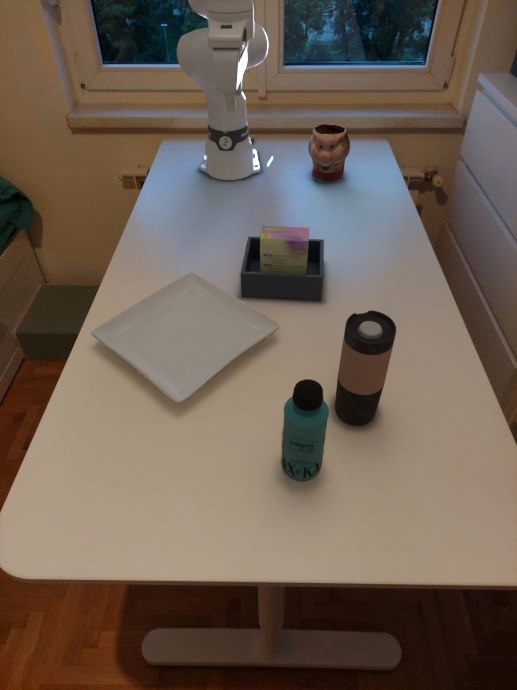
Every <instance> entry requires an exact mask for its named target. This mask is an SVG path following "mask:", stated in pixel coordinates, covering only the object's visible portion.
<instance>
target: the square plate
mask: <svg viewBox="0 0 517 690" xmlns="http://www.w3.org/2000/svg"><path fill="white" fill-rule="evenodd" d="M280 326H281V324H280V323H279V322H278V321H276V320H275V319H273V318H272V317H269V316H268V315H266V314H265V313H263V312H261V311H260V310H258V309H256V308H254V307H253V306H251V305H250V304H248V303H246V302H244V301H242V300H241V299H239V298H237V297H236V296H234V295H233V294H231V293H229V292H228V291H225V290H224V289H223V288H221V287H219V286H218V285H216V284H214V283H212V282H211V281H209V280H208V279H205V278H204V277H202V276H201V275H199V274H197V273H195V272H188V273H185V274H184V275H183V276H181V277H179V278H177V279H176V280H174V281H172V282H170V283H168V284H167V285H165V286H163V287H162V288H160V289H158V290H157V291H155V292H154V293H152V294H150V295H148V296H147V297H145V298H143V299H141V300H140V301H138V302H136V303H134V304H133V305H131V306H130V307H128V308H127V309H125V310H123V311H121V312H120V313H118V314H116V315H115V316H113V317H111V318H110V319H109V320H106V321H105V322H103V323H102V324H100V325H98V326H97V327H96V328H94V329H92V330H91V332H90V334H91V336H92V337H93V338H95V340H97V341H98V342H99V343H100V344H102V345H104V346H105V347H106V348H108V349H109V350H110V351H111V352H113V353H114V354H116V355H117V356H118V357H120V358H121V359H123V361H125V362H126V363H127V364H129V365H130V366H131V367H132V368H133V369H134V370H135V371H137V372H138V373H139V374H141V375H142V376H143V377H144V378H145V379H146V380H147V381H149V383H151V384H152V385H153V386H154V387H155V388H156V389H157V390H158V391H159V392H160V393H162V394H163V395H164V396H166V398H168V399H169V400H170V401H171V402H172V403H174V404H175V405H181V404H182V403H184V402H186V401H187V400H188V399H190V398H191V397H192V396H193V395H195V394H196V393H197V392H198V391H199V390H200V389H202V388H203V387H204V386H206V384H207V383H209V382H210V381H212V380H213V379H214V378H215V377H217V376H218V375H219V374H220V373H221V372H222V371H224V370H225V369H227V368H228V367H229V366H230V365H232V364H233V363H234V362H236V361H237V360H239V359H240V358H241V357H242V356H244V355H245V354H246V353H248V352H249V351H251V350H252V349H254V348H255V347H256V346H258V345H260V344H261V343H262V342H263V341H265V340H266V339H267V338H269V337H270V336H272V335H273V334H274V333H276V332H277V331H278V330H279V329H280Z"/></svg>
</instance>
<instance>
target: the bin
mask: <svg viewBox="0 0 517 690" xmlns="http://www.w3.org/2000/svg"><path fill="white" fill-rule="evenodd" d="M260 238H261V236H247V241H246V245H245V251H244V255H243V260H242V264H241V269H240V290H241V291H240V292H241V294H240V295H241V298H244V299H261V300H263V299H264V300H283V301H301V302H304V301H305V302H320V303H321V302H322V298H323V297H322V296H323V286H324V264H325V263H324V261H325V258H324V257H325V255H324V254H325V253H324V252H325V251H324V250H325V247H324V246H325V245H324V244H325V239H320V238H319V239H318V238H309V245H308V260H307V274H286V273H264V272H260Z"/></svg>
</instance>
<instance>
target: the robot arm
mask: <svg viewBox="0 0 517 690" xmlns="http://www.w3.org/2000/svg"><path fill="white" fill-rule="evenodd" d="M187 1H188V5H189V6H190V8H191V9H192V11H193V12H194V13H195V14H197V15H199V16H202V17H203V18H204V19H205V18H206V19H207V27H202V28H198V29H194V30H192V31H189V32H187V33H185V34H183V35H181V36H180V38H179V40H178V43H177V45H176V46H177V47H176V58H177V62H178V64H179V67H180V69H181V70H182V72H183V73H185V74H186V75H187V76H188V77H190V78H191V79H193V81H195V82H196V83H197V85H198V86H199V88H201V89H200V90H202V93H203V95H204V98H205V102H206V103H205V104H206V110H207V119H208V124H207V135H208V137H207V138H208V140H207V141H206V142H205V143H204V144H203V145H204V146H203V148H204V155H203V156H204V157H203V158H204V162H203V163H202V164H201V165H200V171H201V172H204V173H205V174H207V175H209V176H210V177H211V178H214V179H215V180H221V181H237V180H242V179H245V178H248V177H250V176H252V175H253V174H258V173H261V170H262V169H261V165H260V161H259V156H258V151H257V150H256V149H254V145H253V144H252V143H253V141H255V138H254V137H250V135H249V132H250V128H249V123H248V121H247V99H246V96H245V94H244V92H243V77H244V76H243V75H244V73H245V71H246V70H249V69H251V68H253V67H257V66H258V65H259V64H261V63H263V62H264V61H265V59H266V58H267V56H268V53H269V39H268V38H269V37H268V35H267V33H266V31H265V29H264V28H263V26H262V25H261V24H260V23H258V22H256V21H255V9H254V7H255V6H254V2H253V1H254V0H187ZM272 161H274V156H273V155H272V156H271V157H270V159H269V160H268V162H267V163H266V167H267V168H268V167H269V166H270V165H271V164H272Z"/></svg>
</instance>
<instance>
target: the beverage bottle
mask: <svg viewBox="0 0 517 690" xmlns="http://www.w3.org/2000/svg"><path fill="white" fill-rule="evenodd" d="M329 416H330V408H329V406H328V403H327V402H326V401H325V400H324V389H323V386H322V385H321V383H320V382H318V381H317V380H314V379H310V378H305V379H301V380H298V381H297V383H296V384H294V387H293V392H292V396H290V397H289V398H288V399H287V400H286V402H285V404H284V406H283V427H282V432H281V441H280V442H281V444H280V450H281V457H280V458H279V460H280V464H281V465H280V468H281V470H282V472H283V473H284V474H285V475H286V476H287V478H289V479H290V480H292V481H295V482H298V483H306V482H309V481H312V480H313V479H315V478H316V477H317V476H318V475H319V474H320V472H321V469H322V466H323V461H324V454H325V444H326V441H327V438H326V435H327V434H326V432H327V428H328V427H327V426H328V419H329Z"/></svg>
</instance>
